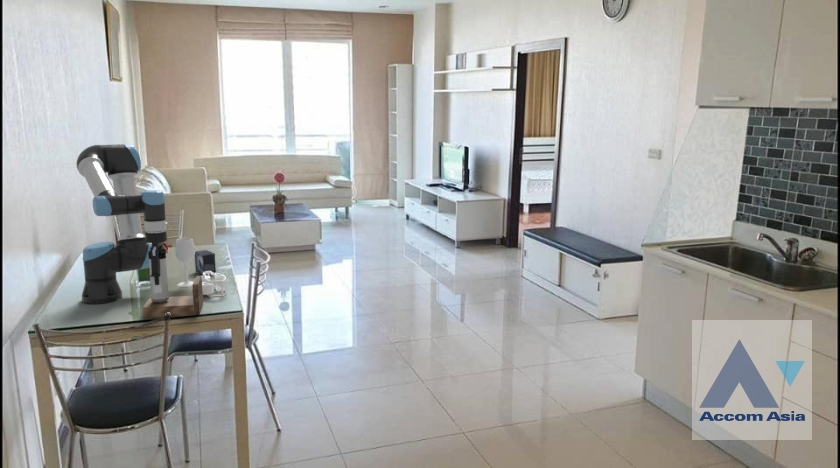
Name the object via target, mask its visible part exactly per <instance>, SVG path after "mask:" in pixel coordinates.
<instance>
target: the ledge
mask: <svg viewBox="0 0 840 468" xmlns="http://www.w3.org/2000/svg"><path fill="white" fill-rule="evenodd" d="M202 276H203V275H196V277H195V278H194V280H193V281H192V282H193V284H192V286H191V287H192V295H182V296H179V295H178V296H169V299H168V300H167V301H164V302H153V301H152V300H151V297H149V298H148V299H147V301H146V302H145V304H144V305H143V306H142V310H143V311H142V313H143V318H163V317H164V316H165V313H167V312H170V313H171V316H170V317H181V316H198V315H199V316H200V314H201V312H202V309H203V306H204V297H203V296H204V295H203V292H202Z"/></svg>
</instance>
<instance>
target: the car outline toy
mask: <svg viewBox="0 0 840 468" xmlns="http://www.w3.org/2000/svg"><path fill="white" fill-rule="evenodd" d="M205 274H208V275H205ZM209 274H211V275H209ZM201 276H202V292H203V296H207V297H209V298H217V297H220V298H223V297H225V296H227V295H228V292H227V290H228V289H227V277H226V275H224V273H218V272H216V273H213V272H212V271H206V272H203V275H201ZM211 276H214V277H213V278H214V280H211V279H212V278H211ZM220 279H222V280H220ZM219 284H220V286H219ZM215 291H216V292H217V293H218V292H221V294H214V292H215Z"/></svg>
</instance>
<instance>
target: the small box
mask: <svg viewBox="0 0 840 468" xmlns="http://www.w3.org/2000/svg"><path fill="white" fill-rule="evenodd" d="M194 266H195V273H198V274H199V275H200V276H203V272H206V271H212V272H213V273H217V269H216V253H215V252H212V251H210V250H207V249H203V250H197V251H196V250H195V256H194ZM205 275H206V276H208V274H205ZM209 275H210V276H212V275H211V274H209Z"/></svg>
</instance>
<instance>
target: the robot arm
mask: <svg viewBox="0 0 840 468" xmlns="http://www.w3.org/2000/svg"><path fill="white" fill-rule="evenodd" d="M76 168H77V170H78V172H79V174H80V175H81V176H82V177H84V179H85V181H86V182H87V184H88V187H89V189H90V191H91V193H92V194H93V198H92V210H93V213H94V214H95V216H97V217H110V216H117V220H118V226H119V227H118V228H119V234H120V235H119V238H118V239H117V244H115V243H114V242H113V241H102V242H96V243H92V244H89V245H87V246H85V247H84V248H83V250H82V261H83V271H84V273H83V274H84V286H83V290H82V293H81V301H82V303H85V304H90V305H91V304H93V305H94V304H97V305H98V304H105V303H107V304H108V303H113V302H115V301H118V300H120V299H122V298H123V290H122V289H121V285H120V284H119V282H118V280H117V273H123V272H131V271H137V270H138V271H140V270H143V269H149V256H148V251H150V254H151V269H152V275H151V277H153V284H154V293H162V284H161V276H160V258H161V255H160V256H159V257H158V253H161V252H162V251H163V249H164V242H167V241H168V238H167V231H166V230H167V225H168V223H169V222H166V206H165V205H166V204H165V201H166V199H165V193H164V191H163V190H157V189H150V190H145V191H143V192H142V191H141V192H138V193H137V187H136V177H138V175H139V174H138V173H139V172H140V171H141V170H142V160H141V157H140V153H139V151H138V149H137V148H136V146H134V145H132V144H123V143H122V144H94V145H90V146H87V147H86V148H85V149H83V150H82V151H81V152H80V153H79V155H78V157H77V159H76ZM110 180H111V181H112V183H111V181H110ZM141 214H143V222H144V223H143V224H144V231H145V233H143V228H142V220H141Z"/></svg>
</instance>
